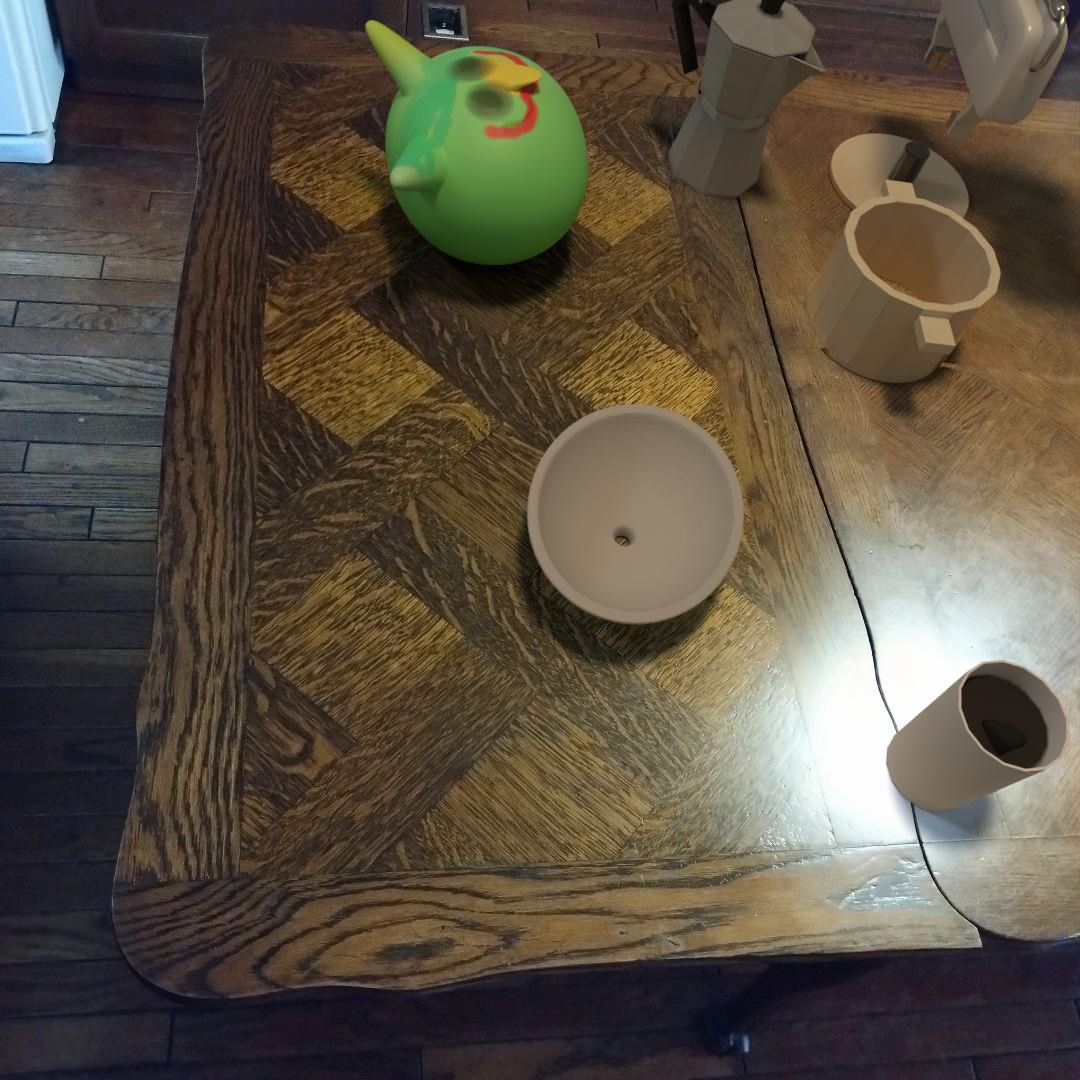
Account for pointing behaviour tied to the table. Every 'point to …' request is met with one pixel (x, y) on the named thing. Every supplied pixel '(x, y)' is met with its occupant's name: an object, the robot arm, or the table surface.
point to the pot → (914, 262)
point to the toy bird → (481, 150)
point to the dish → (635, 514)
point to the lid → (894, 171)
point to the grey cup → (979, 737)
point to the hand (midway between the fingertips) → (943, 99)
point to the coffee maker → (737, 87)
